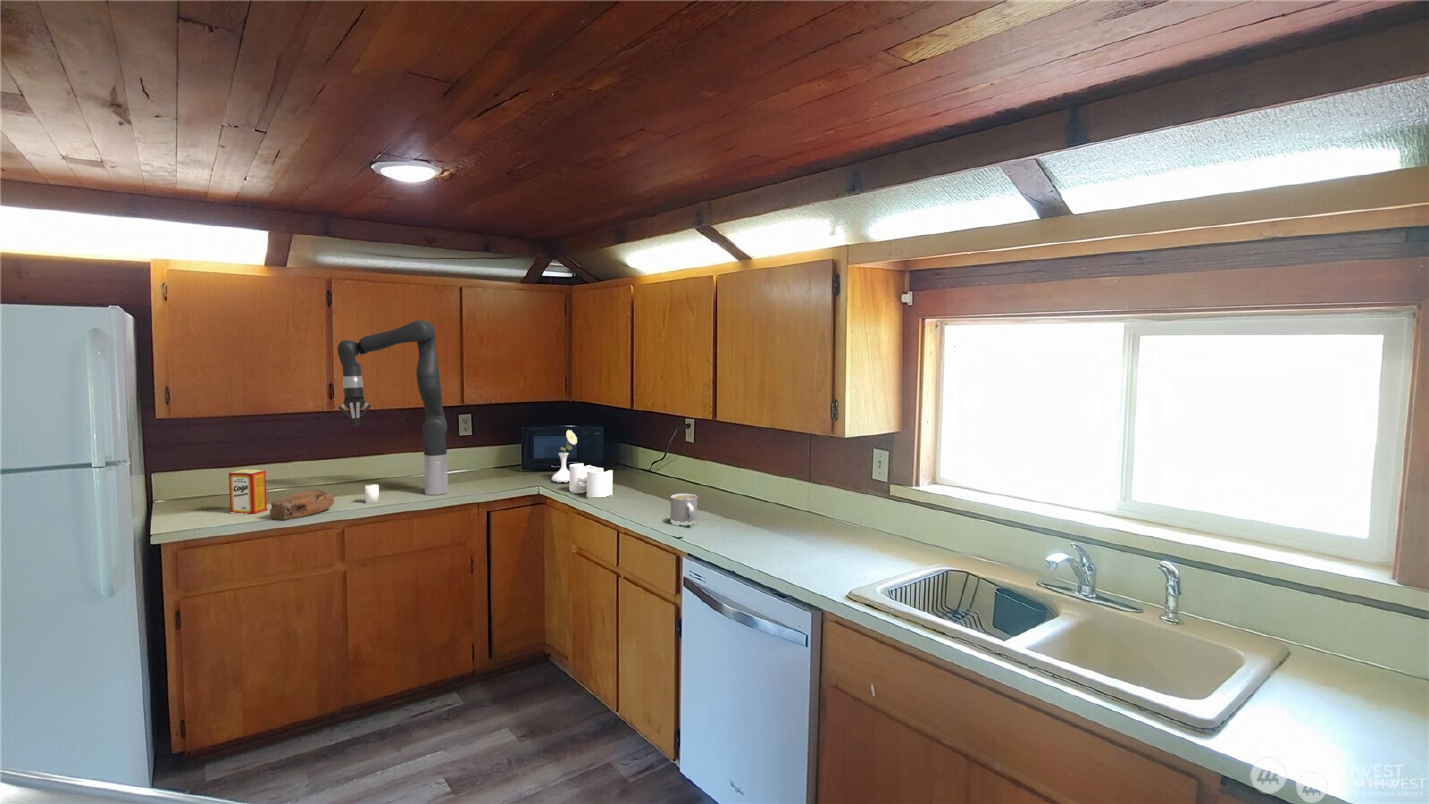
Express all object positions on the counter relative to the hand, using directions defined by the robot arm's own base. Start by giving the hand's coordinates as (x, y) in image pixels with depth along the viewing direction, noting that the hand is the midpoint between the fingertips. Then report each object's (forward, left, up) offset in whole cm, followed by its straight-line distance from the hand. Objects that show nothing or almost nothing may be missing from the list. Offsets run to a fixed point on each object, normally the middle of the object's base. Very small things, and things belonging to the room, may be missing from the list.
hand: (356, 426), depth 288 cm
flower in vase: (-88, +11, -29) cm, 93 cm away
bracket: (-90, +42, -29) cm, 104 cm away
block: (+11, +25, -25) cm, 37 cm away
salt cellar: (-5, +22, -29) cm, 37 cm away
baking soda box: (+37, +21, -29) cm, 51 cm away
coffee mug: (-108, +104, -29) cm, 153 cm away
